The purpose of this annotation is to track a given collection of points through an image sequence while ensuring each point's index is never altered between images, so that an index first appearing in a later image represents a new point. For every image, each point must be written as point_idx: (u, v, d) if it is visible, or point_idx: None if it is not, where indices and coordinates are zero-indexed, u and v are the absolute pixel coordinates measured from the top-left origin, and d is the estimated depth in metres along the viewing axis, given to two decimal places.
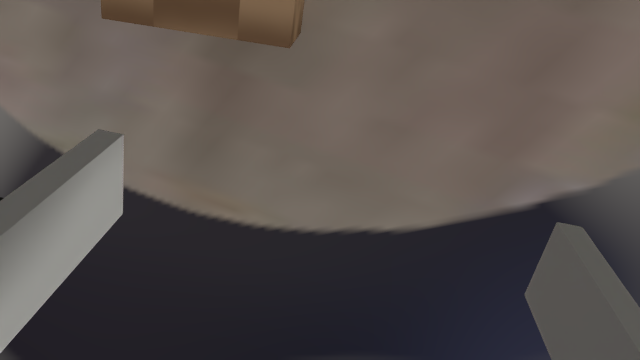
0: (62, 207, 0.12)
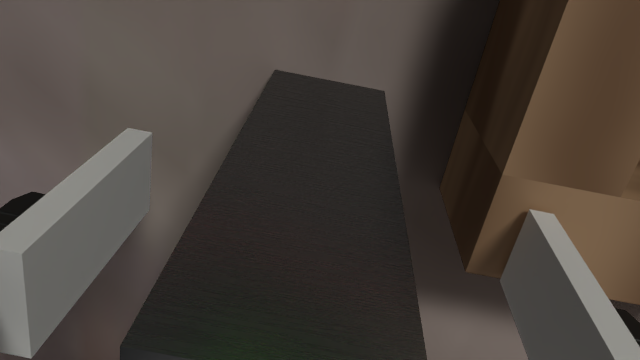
0: (99, 202, 0.13)
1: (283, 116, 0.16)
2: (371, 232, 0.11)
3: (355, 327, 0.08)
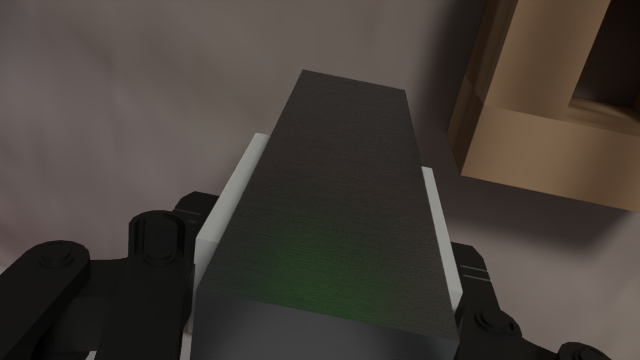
0: None
1: (314, 110, 0.18)
2: (399, 210, 0.12)
3: (390, 282, 0.10)
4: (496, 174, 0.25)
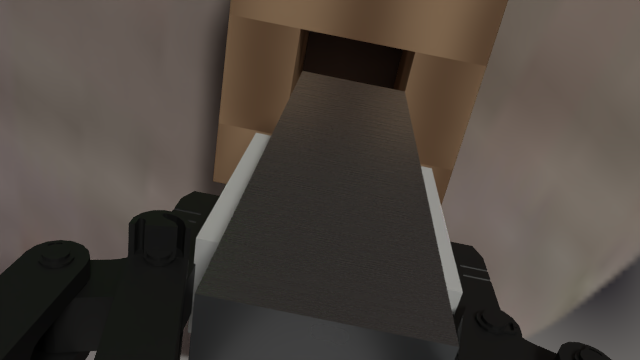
0: None
1: (314, 112, 0.17)
2: (398, 213, 0.12)
3: (390, 286, 0.10)
4: None
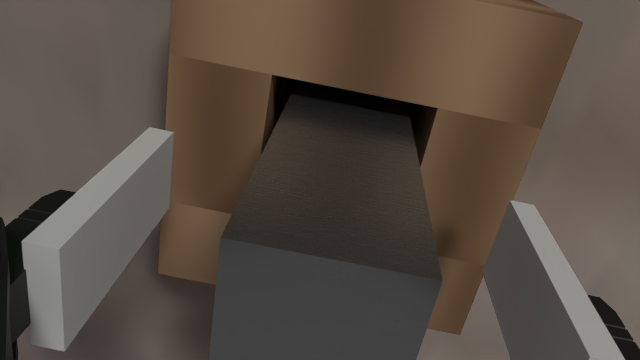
0: (126, 200, 0.13)
1: (318, 97, 0.19)
2: (394, 180, 0.14)
3: (384, 236, 0.11)
4: (196, 273, 0.22)
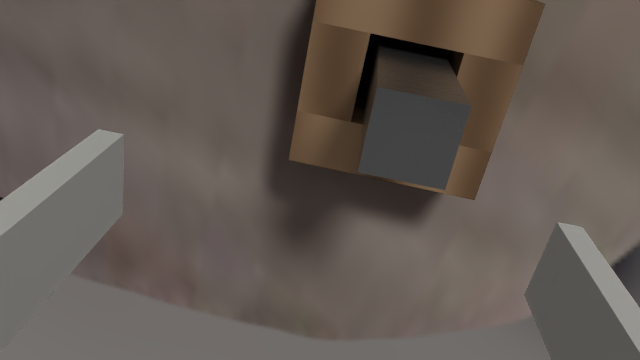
0: (62, 207, 0.12)
1: (393, 48, 0.33)
2: (444, 79, 0.28)
3: (445, 93, 0.25)
4: (312, 159, 0.36)
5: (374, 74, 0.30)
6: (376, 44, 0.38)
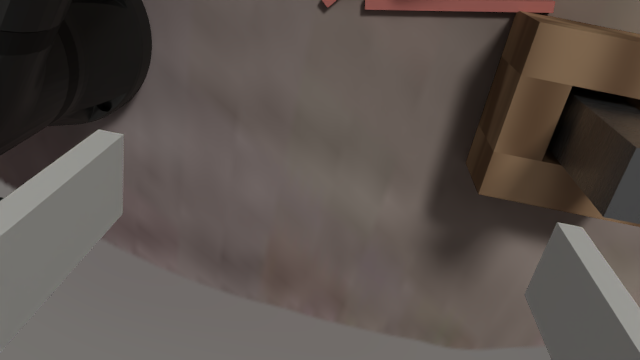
0: (62, 207, 0.12)
1: (585, 97, 0.37)
2: None
3: None
4: (501, 193, 0.40)
5: (586, 125, 0.34)
6: None
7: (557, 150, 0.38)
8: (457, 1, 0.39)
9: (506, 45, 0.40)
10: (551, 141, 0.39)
